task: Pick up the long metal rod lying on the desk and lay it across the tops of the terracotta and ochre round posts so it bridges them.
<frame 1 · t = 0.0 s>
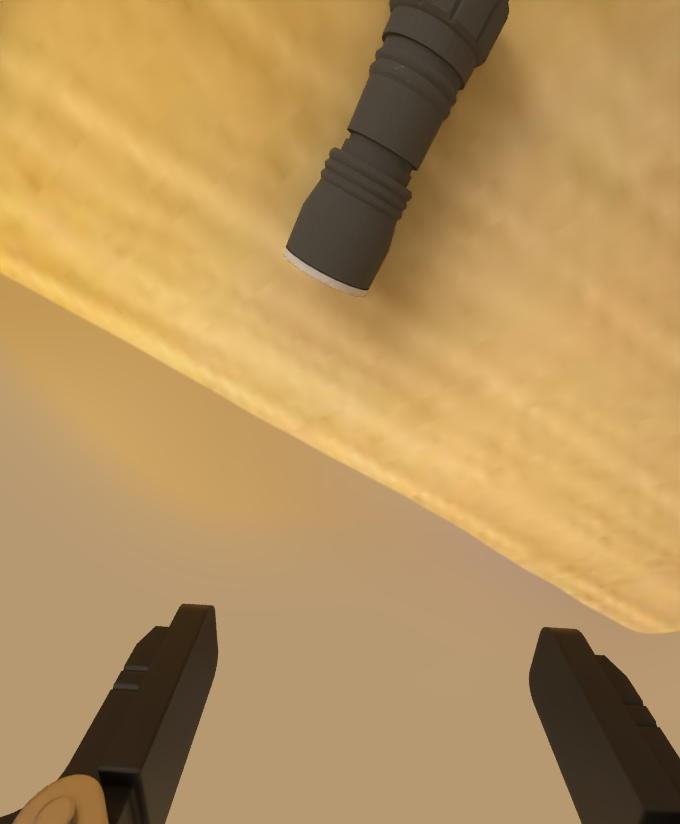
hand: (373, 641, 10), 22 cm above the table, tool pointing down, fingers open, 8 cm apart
flashlight: (383, 149, 25), on the table
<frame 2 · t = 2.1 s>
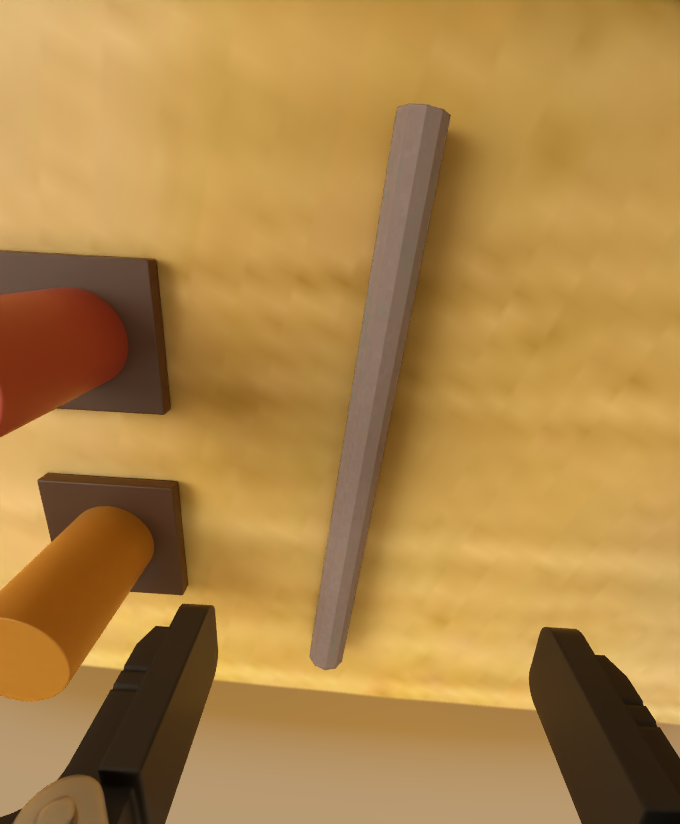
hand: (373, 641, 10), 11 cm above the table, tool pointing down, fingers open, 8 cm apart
ochre post: (121, 531, 24), on the table
terracotta post: (89, 334, 20), on the table
metal rod: (362, 438, 21), on the table
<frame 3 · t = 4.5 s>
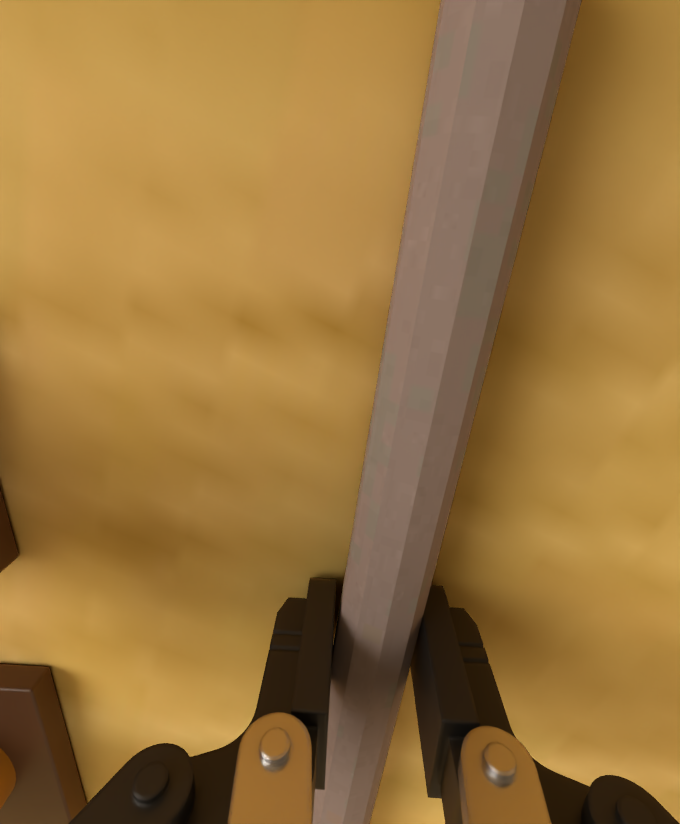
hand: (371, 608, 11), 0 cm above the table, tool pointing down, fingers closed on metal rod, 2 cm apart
metal rod: (372, 599, 12), on the table, touching gripper
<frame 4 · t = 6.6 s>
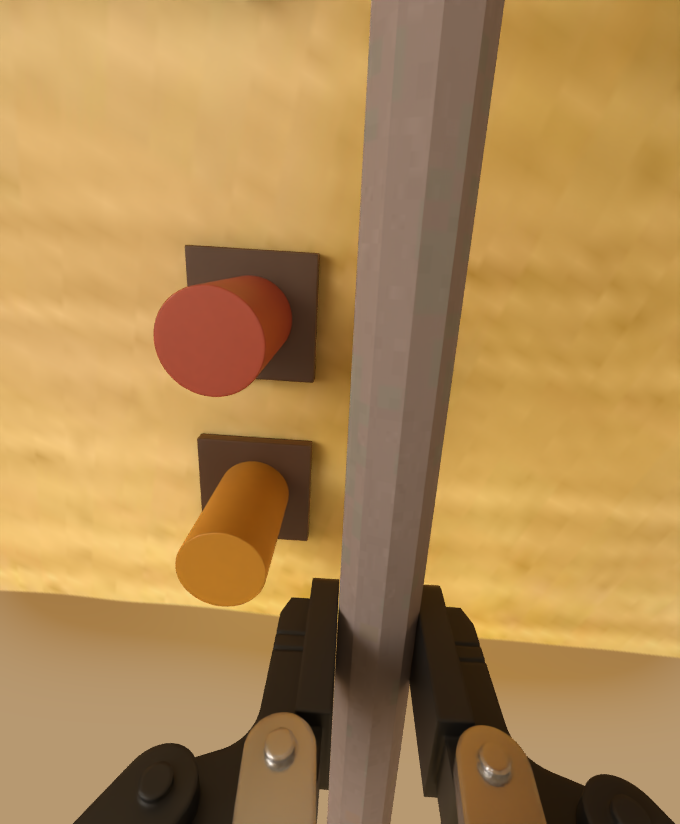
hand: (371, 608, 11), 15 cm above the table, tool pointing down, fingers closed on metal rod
ochre post: (257, 485, 28), on the table
terracotta post: (255, 315, 24), on the table
metal rod: (373, 598, 12), point 15 cm above the table, touching gripper
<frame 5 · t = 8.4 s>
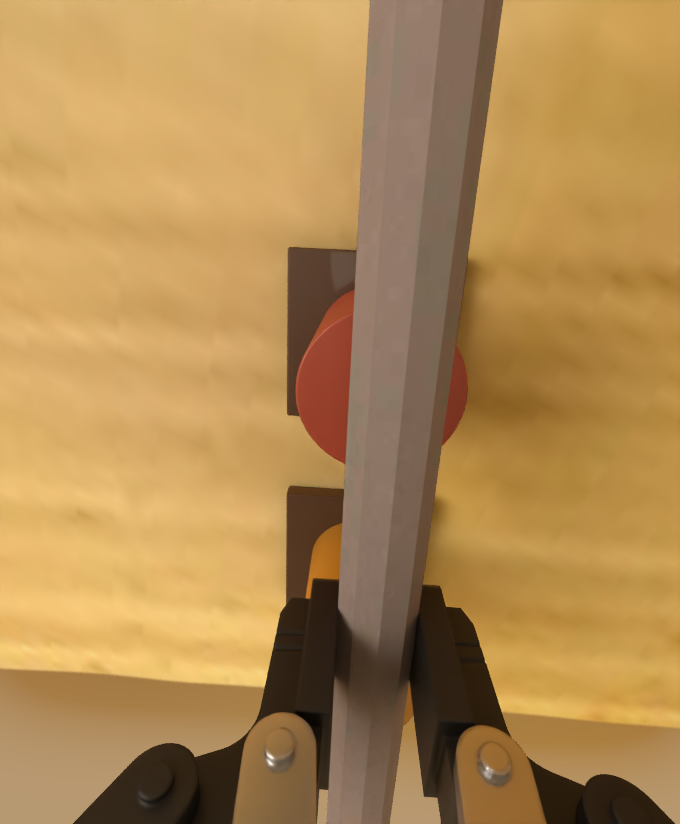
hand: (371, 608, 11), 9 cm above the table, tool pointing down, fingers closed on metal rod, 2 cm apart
ochre post: (355, 548, 22), on the table
terracotta post: (370, 338, 18), on the table
metal rod: (372, 599, 12), point 9 cm above the table, touching gripper
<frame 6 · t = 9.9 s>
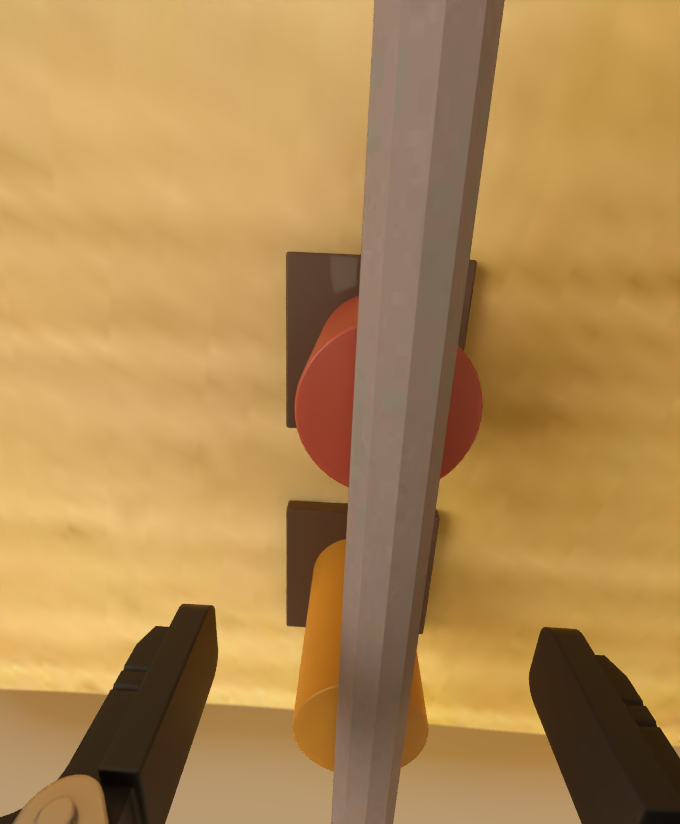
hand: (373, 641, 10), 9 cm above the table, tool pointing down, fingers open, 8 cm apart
ochre post: (358, 564, 21), on the table
terracotta post: (373, 346, 17), on the table
metal rod: (376, 596, 12), point 8 cm above the table, touching ochre post, terracotta post
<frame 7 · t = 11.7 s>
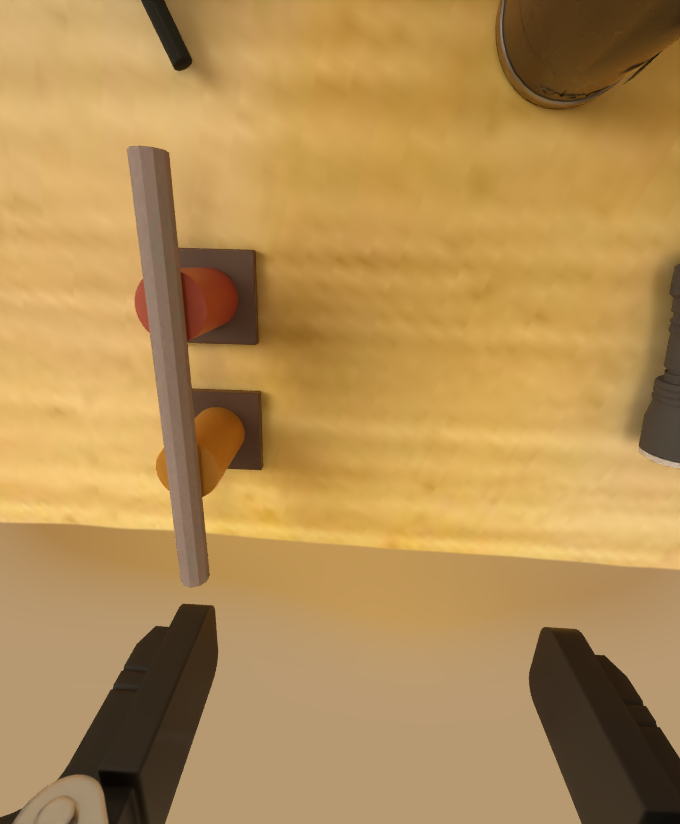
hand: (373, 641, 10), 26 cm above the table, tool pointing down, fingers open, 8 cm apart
ochre post: (221, 428, 37), on the table
terracotta post: (212, 297, 33), on the table
metal rod: (183, 395, 28), point 8 cm above the table, touching ochre post, terracotta post
flashlight: (673, 356, 34), on the table
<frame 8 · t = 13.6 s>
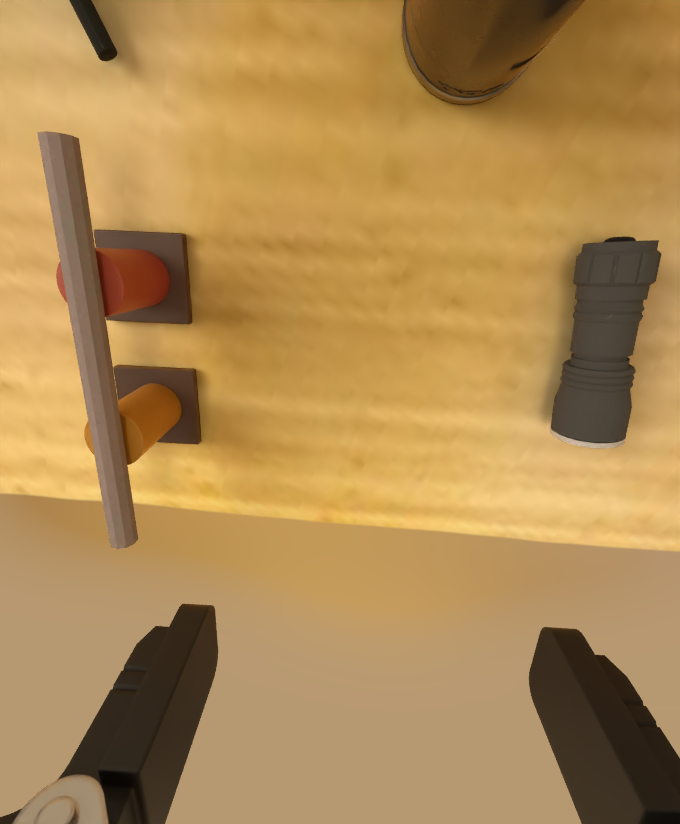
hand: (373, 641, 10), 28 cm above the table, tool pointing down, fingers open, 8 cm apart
ochre post: (160, 404, 39), on the table
terracotta post: (147, 278, 35), on the table
metal rod: (106, 367, 29), point 8 cm above the table, touching ochre post, terracotta post
flashlight: (583, 341, 36), on the table
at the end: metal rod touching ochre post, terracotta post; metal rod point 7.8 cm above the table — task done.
